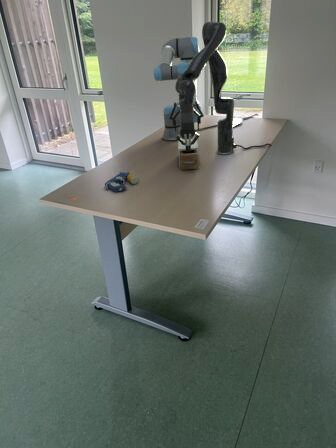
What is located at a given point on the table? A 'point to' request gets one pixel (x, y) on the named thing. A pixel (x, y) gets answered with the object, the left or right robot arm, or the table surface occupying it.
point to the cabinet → (183, 147)
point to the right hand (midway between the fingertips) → (188, 151)
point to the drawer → (188, 160)
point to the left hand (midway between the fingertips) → (187, 130)
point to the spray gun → (120, 181)
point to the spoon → (236, 121)
